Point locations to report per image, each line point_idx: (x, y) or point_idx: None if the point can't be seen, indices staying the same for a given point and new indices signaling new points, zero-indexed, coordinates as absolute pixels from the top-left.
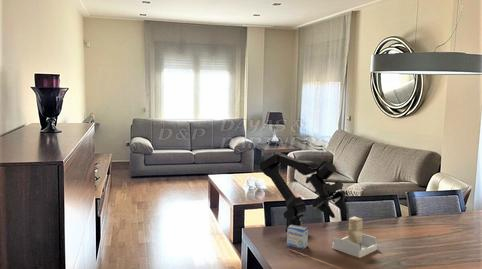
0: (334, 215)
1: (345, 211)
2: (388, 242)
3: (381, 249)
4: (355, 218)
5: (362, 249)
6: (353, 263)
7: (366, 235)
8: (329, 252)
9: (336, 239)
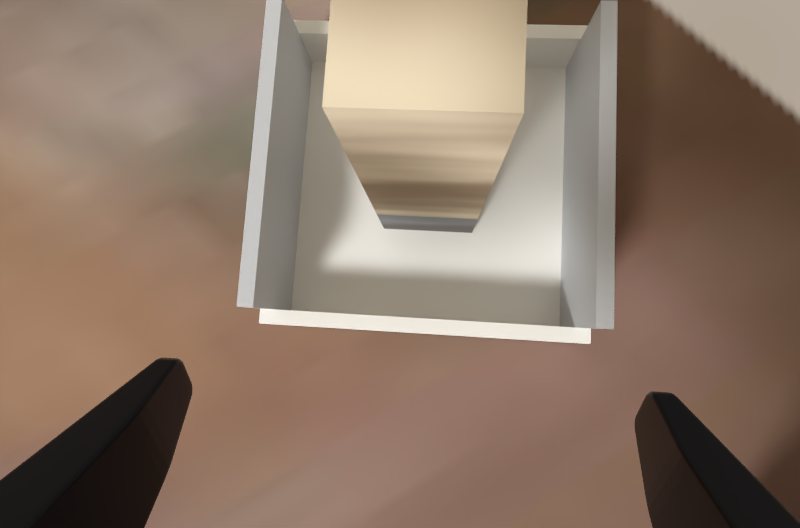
0: (671, 411)
1: (164, 400)
2: (54, 82)
3: (247, 48)
4: (429, 22)
5: None
6: (692, 56)
7: (271, 102)
8: (646, 321)
9: (609, 288)
